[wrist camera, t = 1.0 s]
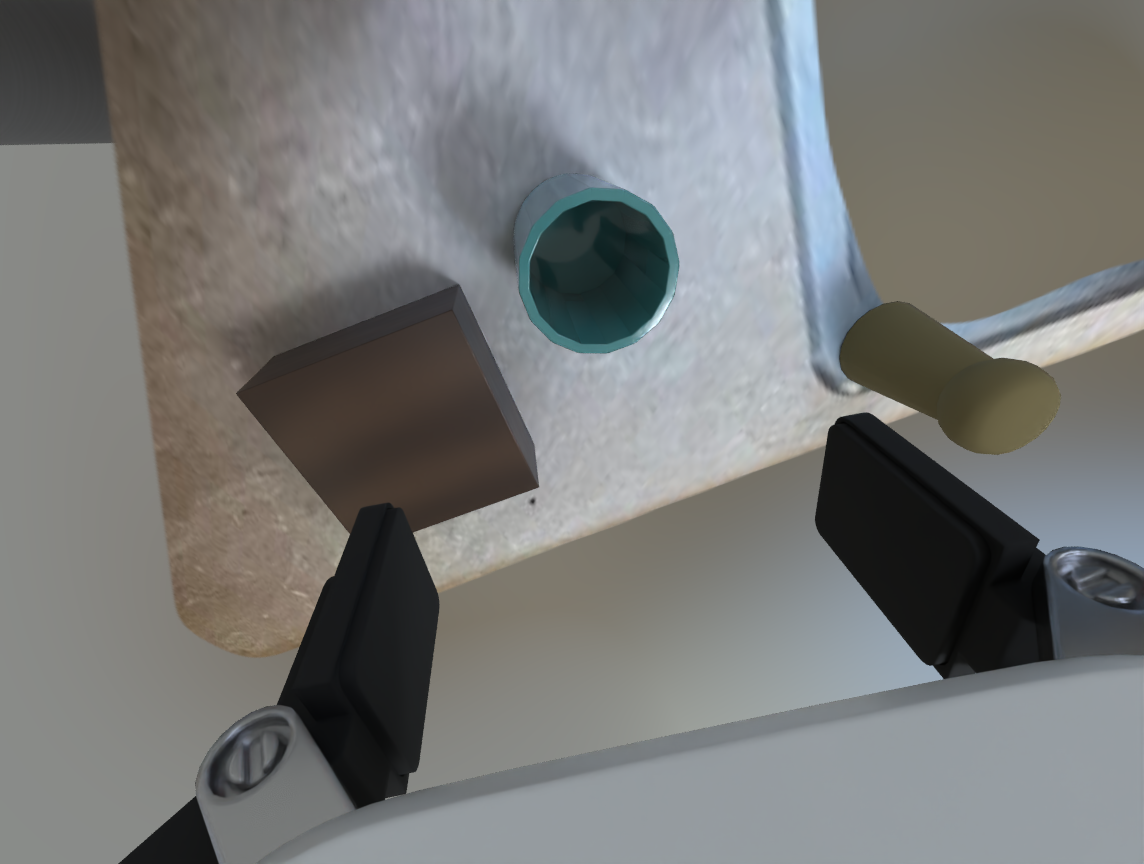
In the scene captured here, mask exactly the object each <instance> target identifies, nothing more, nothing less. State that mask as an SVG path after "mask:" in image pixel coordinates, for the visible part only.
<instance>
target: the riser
mask: <svg viewBox="0 0 1144 864" xmlns="http://www.w3.org/2000/svg"><path fill="white" fill-rule="evenodd" d="M236 394H237V396H238V397H239V398H240V399H241V401H242V402H243V403H244V404H245V405H246V407H247V408H248V409H249V410H250V412H251V413H252V414H253V415H254V417H255V418H256V419H257V420H258V421H259V423H260V424H261V425H262V426H263V428H264V429H265V430H266V431H267V433H268V434H269V435H270V436H271V437H272V439H273V440H274V441H275V442H276V444H277V445H278V446H279V447H280V448H281V450H282V451H283V452H284V453H285V455H286V456H287V457H288V458H289V460H290V461H291V462H292V463H293V464H294V466H295V467H296V468H297V469H298V471H299V472H300V473H301V474H302V476H303V477H304V478H305V479H306V480H307V482H308V483H309V484H310V485H311V487H312V488H313V489H314V490H315V492H316V493H317V494H318V495H319V496H320V498H321V499H322V500H323V501H324V503H325V504H326V505H327V506H328V507H329V509H330V510H331V511H332V512H333V514H334V515H335V516H336V517H337V519H338V520H339V521H340V522H341V523H342V525H343V526H344V527H345V528H346V530H347V531H348V532H349V533H351V531H352V528H353V526H354V523H355V520H356V518H357V515H358V512H359V510H360V509H361V508H362V507H366V506H372V505H377V504H382V503H387V502H389V503H391V504H392V505H393V507H394V508H398V507H400V508H402V509H403V511H404V513H405V516H406V518H407V521H408V523H409V525H410V528H411V530H412V533H413V532H415V531H418V530H421V529H424V528H427V527H429V526H432V525H435V524H438V523H441V522H443V521H446V520H449V519H452V518H455V517H457V516H460V515H463V514H466V513H469V512H471V511H474V510H477V509H480V508H483V507H485V506H488V505H491V504H494V503H497V502H499V501H502V500H505V499H508V498H510V497H513V496H516V495H519V494H522V493H524V492H527V491H530V490H533V489H536V488H538V487H539V482H538V473H537V464H536V455H535V447H534V443H533V441H532V439H531V436H530V434H529V432H528V430H527V428H526V426H525V424H524V422H523V419H522V417H521V415H520V413H519V411H518V409H517V407H516V404H515V402H514V400H513V398H512V396H511V394H510V392H509V389H508V387H507V385H506V383H505V381H504V379H503V377H502V374H501V372H500V370H499V368H498V366H497V364H496V362H495V360H494V357H493V355H492V353H491V351H490V349H489V347H488V345H487V342H486V340H485V338H484V336H483V334H482V332H481V330H480V327H479V325H478V323H477V321H476V319H475V317H474V315H473V312H472V310H471V308H470V306H469V304H468V302H467V300H466V298H465V295H464V293H463V291H462V289H461V287H460V285H459V284H458V285H455V286H453V287H450V288H448V289H445V290H443V291H440V292H437V293H435V294H432V295H430V296H427V297H425V298H422V299H420V300H417V301H414V302H412V303H409V304H407V305H404V306H402V307H399V308H397V309H394V310H391V311H389V312H386V313H384V314H381V315H379V316H376V317H374V318H371V319H368V320H366V321H363V322H361V323H358V324H356V325H353V326H351V327H348V328H345V329H343V330H340V331H338V332H335V333H333V334H330V335H327V336H325V337H322V338H320V339H317V340H315V341H312V342H310V343H307V344H304V345H302V346H299V347H297V348H294V349H292V350H289V351H287V352H284V353H281V354H279V355H276V356H274V357H273V358H272V359H271V360H270V361H269V362H268V363H267V364H266V365H265V366H264V367H263V368H262V369H260V370H259V371H258V372H257V373H256V374H255V375H254V376H253V377H252V378H251V379H250V380H249V381H248V382H247V383H246V384H245V385H244V386H243V387H242V388H241V389H240V390H239V391H238V392H237V393H236Z"/></svg>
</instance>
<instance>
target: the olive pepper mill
mask: <svg viewBox="0 0 1144 864" xmlns="http://www.w3.org/2000/svg"><path fill="white" fill-rule="evenodd" d="M840 364H841V369H842V371H843V372H844V374H845V375H846V376H847V378H849V379H850V380H852V381H854V382H856V383H858V384H860V385H862V386H864V387H866V388H869V389H871V390H873V391H875V392H877V393H880V394H882V395H884V396H886V397H888V398H891V399H893V400H895V401H897V402H899V403H902V404H904V405H906V406H908V407H910V408H913V409H915V410H917V411H919V412H921V413H924V414H926V415H928V416H930V417H932V418H935V419H937V420H938V423H939V425H940V427H941V428H942V430H943V432H944V433H945V434H946V435H947V437H948V438H949V439H950V440H952V441H953V442H954V443H956V444H957V445H959V446H961V447H963V448H965V449H966V450H969V451H972V452H975V453H981V454H994V455H999V454H1004V453H1009V452H1012V451H1014V450H1016V449H1019V448H1021V447H1023V446H1025V445H1026V444H1028V443H1029V442H1031V441H1032V440H1034V439H1036V438H1037V437H1038V436H1039V435H1040V434H1041V433H1042V432H1043V431H1044V430H1046V428H1047V427H1048V426H1049V424H1050V423H1051V422H1052V420H1053V419H1054V418H1055V415H1056V413H1057V411H1058V408H1059V406H1060V397H1061V394H1060V392H1059V389H1058V387H1057V385H1056V383H1055V380H1054V378H1053V377H1051V376H1050V375H1049V374H1048V373H1047V372H1045V371H1044V370H1042V369H1041V368H1040V367H1038V366H1037V365H1034V364H1032V363H1029V362H1027V361H1021V360H1015V359H1008V358H997V359H993V358H992V357H990V356H989V355H987V354H986V353H984V352H983V351H981V350H980V349H978V348H976V347H975V346H973V345H972V344H970V343H969V342H967V341H966V340H964V339H963V338H961V337H960V336H958V335H957V334H955V333H954V332H952V331H951V330H949V329H948V328H946V327H945V326H943V325H942V324H940V323H939V322H937V321H935V320H934V319H933V318H931V317H930V316H928V315H927V314H925V313H924V312H922V311H920V310H919V309H917V308H916V307H914V306H913V305H911V304H910V303H905V302H898V301H897V302H891V303H886V304H882V305H880V306H878V307H876V308H874V309H872V310H870V311H869V312H867V313H866V314H865V315H864V316H862V317H861V318H860V319H859V320H857V322H856V323H855V324H854V325H853V327H852V328H851V329H850V330H849V332H848V333H847V335H846V337H845V340H844V342H843V344H842V346H841V352H840Z"/></svg>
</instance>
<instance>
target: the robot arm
mask: <svg viewBox="0 0 1144 864" xmlns="http://www.w3.org/2000/svg"><path fill="white" fill-rule="evenodd" d="M815 523H816V527H817V530H818V532H819V533H820V535H821V536H822V537H823V539H824V540H825V541H826V542H827V544H828V545H829V546H830V547H831V549H832V550H833V551H834V552H835V554H836V555H837V556H838V557H839V559H840V560H841V561H842V562H843V564H844V565H845V566H846V567H847V569H848V570H849V571H850V572H851V574H852V575H853V576H854V577H855V579H856V580H857V581H858V582H859V583H860V585H861V586H862V587H863V589H864V590H865V591H866V592H867V594H868V595H869V596H870V597H871V599H872V600H873V601H874V602H875V604H876V605H877V606H878V607H879V609H880V610H881V611H882V612H883V614H884V615H885V616H886V617H887V619H888V620H889V621H890V622H891V623H892V625H893V626H894V627H895V628H896V630H897V631H898V632H899V633H900V635H901V636H902V637H903V639H904V640H905V641H906V642H907V644H908V645H909V646H910V647H911V648H912V650H913V651H914V652H915V653H916V655H917V656H918V657H919V658H920V659H921V660H922V661H923V662H924V663H925V664H927V665H930V666H931V665H933V666H934V668H935V669H936V670H937V671H938V672H939V674H940V675H941V676H942V677H943V680H938V681H934V682H928V683H923V684H918V685H913V686H909V687H904V688H899V689H894V690H889V691H884V692H879V693H874V694H869V695H864V696H859V697H854V698H849V699H845V700H840V701H834V702H829V703H824V704H819V705H815V706H809V707H805V708H800V709H795V710H790V711H785V712H781V713H776V714H771V715H766V716H761V717H756V718H751V719H747V720H742V721H737V722H732V723H727V724H722V725H717V726H713V727H708V728H703V729H698V730H693V731H689V732H684V733H679V734H674V735H669V736H665V737H660V738H656V739H650V740H645V741H641V742H636V743H632V744H627V745H622V746H617V747H613V748H609V749H603V750H599V751H594V752H589V753H585V754H580V755H575V756H571V757H566V758H561V759H556V760H552V761H547V762H542V763H537V764H533V765H528V766H523V767H519V768H514V769H510V770H505V771H501V772H496V773H492V774H488V775H483V776H479V777H475V778H471V779H466V780H462V781H458V782H453V783H449V784H445V785H440V786H436V787H432V788H427V789H423V790H419V791H415V792H412V793H408V794H406V790H407V784H408V777H409V773H412V772H416V770H417V768H418V765H419V760H420V752H421V745H422V737H423V729H424V722H425V714H426V707H427V698H428V691H429V684H430V676H431V668H432V660H433V652H434V644H435V638H436V630H437V622H438V614H439V597H438V593H437V590H436V588H435V585H434V583H433V580H432V578H431V576H430V573H429V571H428V568H427V566H426V564H425V561H424V559H423V557H422V554H421V552H420V549H419V547H418V545H417V542H416V540H415V537H414V535H413V533H412V530H411V528H410V525H409V523H408V521H407V518H406V516H405V513H404V511H403V509H402V508H400V507H398V508H394V507H393V505H392V504H391V503H389V502H387V503H382V504H377V505H372V506H366V507H362V508H361V509H360V510H359V512H358V515H357V518H356V520H355V523H354V526H353V528H352V531H351V533H350V536H349V539H348V541H347V544H346V547H345V549H344V552H343V555H342V557H341V560H340V562H339V565H338V568H337V570H336V573H335V576H333V577H331V578H329V579H328V580H327V581H326V583H325V585H324V587H323V589H322V592H321V594H320V597H319V599H318V602H317V604H316V607H315V609H314V612H313V615H312V617H311V620H310V622H309V625H308V627H307V630H306V632H305V635H304V637H303V640H302V642H301V645H300V647H299V650H298V653H297V655H296V658H295V660H294V663H293V665H292V668H291V670H290V673H289V675H288V678H287V681H286V683H285V685H284V688H283V691H282V693H281V696H280V698H279V701H278V703H277V705H274V706H267V707H264V708H261V709H259V710H256V711H254V712H251V713H249V714H248V715H246V716H245V717H243V718H242V719H240V720H238V721H237V722H236V723H234V724H233V725H232V726H231V727H230V728H229V729H228V730H226V731H225V732H224V733H223V734H222V735H221V736H220V737H219V738H218V740H217V741H216V742H215V743H214V745H213V746H212V747H211V748H210V750H209V751H208V753H207V755H206V756H205V758H204V760H203V762H202V764H201V766H200V767H199V771H198V774H197V778H196V782H195V786H196V796H195V797H194V798H193V799H192V800H191V801H190V802H188V803H187V804H186V805H185V806H184V807H183V808H182V809H180V810H179V811H178V812H177V813H176V814H175V815H173V816H172V817H171V818H170V819H169V820H168V821H167V822H165V823H164V824H163V825H162V826H161V827H160V828H159V829H158V830H156V831H155V832H154V833H153V834H152V835H151V836H149V837H148V838H147V839H146V840H145V841H144V842H143V843H141V844H140V845H139V846H138V847H137V848H136V849H135V850H134V851H132V852H131V853H130V854H129V855H128V856H127V857H126V858H124V859H123V860H122V861H121V862H120V863H119V864H1144V568H1142V567H1140V566H1139V565H1137V564H1136V563H1133V562H1131V561H1129V560H1126V559H1124V558H1122V557H1120V556H1117V555H1115V554H1111V553H1108V552H1105V551H1101V550H1098V549H1092V548H1085V547H1062V548H1058V549H1055V550H1052V551H1051V552H1050V553H1049V554H1047V555H1045V554H1044V553H1042V552H1041V551H1040V550H1039V549H1037V548H1036V546H1037V544H1038V542H1039V539H1038V538H1037V537H1035V536H1034V535H1032V534H1031V533H1030V532H1029V531H1027V530H1026V529H1024V528H1023V527H1022V526H1020V525H1019V524H1018V523H1017V522H1015V521H1014V520H1013V519H1011V518H1010V517H1009V516H1007V515H1006V514H1005V513H1003V512H1002V511H1001V510H999V509H998V508H997V507H995V506H994V505H992V504H991V503H990V502H989V501H987V500H986V499H985V498H983V497H982V496H980V495H979V494H978V493H976V492H975V491H974V490H972V489H971V488H970V487H968V486H967V485H966V484H964V483H963V482H962V481H960V480H959V479H958V478H956V477H955V476H954V475H952V474H951V473H950V472H948V471H947V470H946V469H944V468H943V467H942V466H940V465H939V464H938V463H936V462H935V461H934V460H932V459H931V458H930V457H928V456H927V455H926V454H924V453H923V452H922V451H920V450H919V449H918V448H916V447H915V446H914V445H912V444H911V443H910V442H908V441H907V440H906V439H904V438H903V437H902V436H900V435H899V434H898V433H896V432H895V431H893V430H892V429H891V428H890V427H888V426H887V425H886V424H884V423H883V422H882V421H880V420H879V419H878V418H876V417H875V416H874V415H872V414H870V413H865V412H864V413H859V414H854V415H848V416H843V417H840V418H838V419H837V420H836V422H835V425H832V426H831V427H830V428H829V431H828V437H827V443H826V450H825V457H824V463H823V469H822V476H821V482H820V489H819V496H818V502H817V509H816V515H815ZM403 794H405V795H403ZM398 795H401V796H398ZM393 796H398V797H394V798H391V799H387V800H385V798H388V797H393Z"/></svg>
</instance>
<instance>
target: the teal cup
mask: <svg viewBox="0 0 1144 864" xmlns="http://www.w3.org/2000/svg"><path fill="white" fill-rule="evenodd" d="M514 257H515V265H516V273H517V281H518V289H519V294H520V296H521V298H522V301H523V303H524V306H525V308H526V311H527V313H528V316H529V318H530V320H531V322H532V323H533V324H534V325H535V326H536V327H537V328H538V329H539V330H540V331H541V332H542V333H543V334H544V335H545V336H546V337H547V338H548V339H549V340H550V341H552V342H553V343H555V344H558V345H560V346H563V347H565V348H567V349H570V350H572V351H575V352H577V353H610V352H613V351H616V350H618V349H621V348H624V347H626V346H629V345H632V344H634V343H635V342H637V341H639V340H640V339H641V338H642V337H643V336H644V335H646V334H647V333H648V332H649V331H650V330H651V329H653V328H654V327H655V326H656V325H657V324H658V323H659V322H660V320H661V318H662V317H663V315H664V313H665V311H666V310H667V308H668V306H669V304H670V303H671V301H672V299H673V297H674V295H675V289H676V283H677V277H678V271H679V258H678V254H677V249H676V244H675V240H674V235H673V232H672V230H671V229H670V227H669V226H668V225H667V223H666V222H665V220H664V219H663V218H662V216H661V215H660V214H659V212H658V211H657V209H656V208H655V207H654V206H653V205H652V204H650V203H649V202H647V201H645V200H643V199H641V198H640V197H638V196H636V195H634V194H632V193H630V192H629V191H627V190H625V189H623V188H620V187H618V186H616V185H613V184H611V183H608V182H606V181H604V180H601V179H599V178H597V177H594V176H592V175H586V174H578V173H566V174H562V175H558V176H555V177H552V178H550V179H548V180H546V181H544V182H543V183H541V184H540V185H538V186H537V187H536V188H535V189H534V190H533V191H532V192H531V193H530V194H529V195H528V196H527V198H526V199H525V200H524V202H523V204H522V205H521V208H520V210H519V212H518V215H517V218H516V221H515V224H514Z"/></svg>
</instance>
